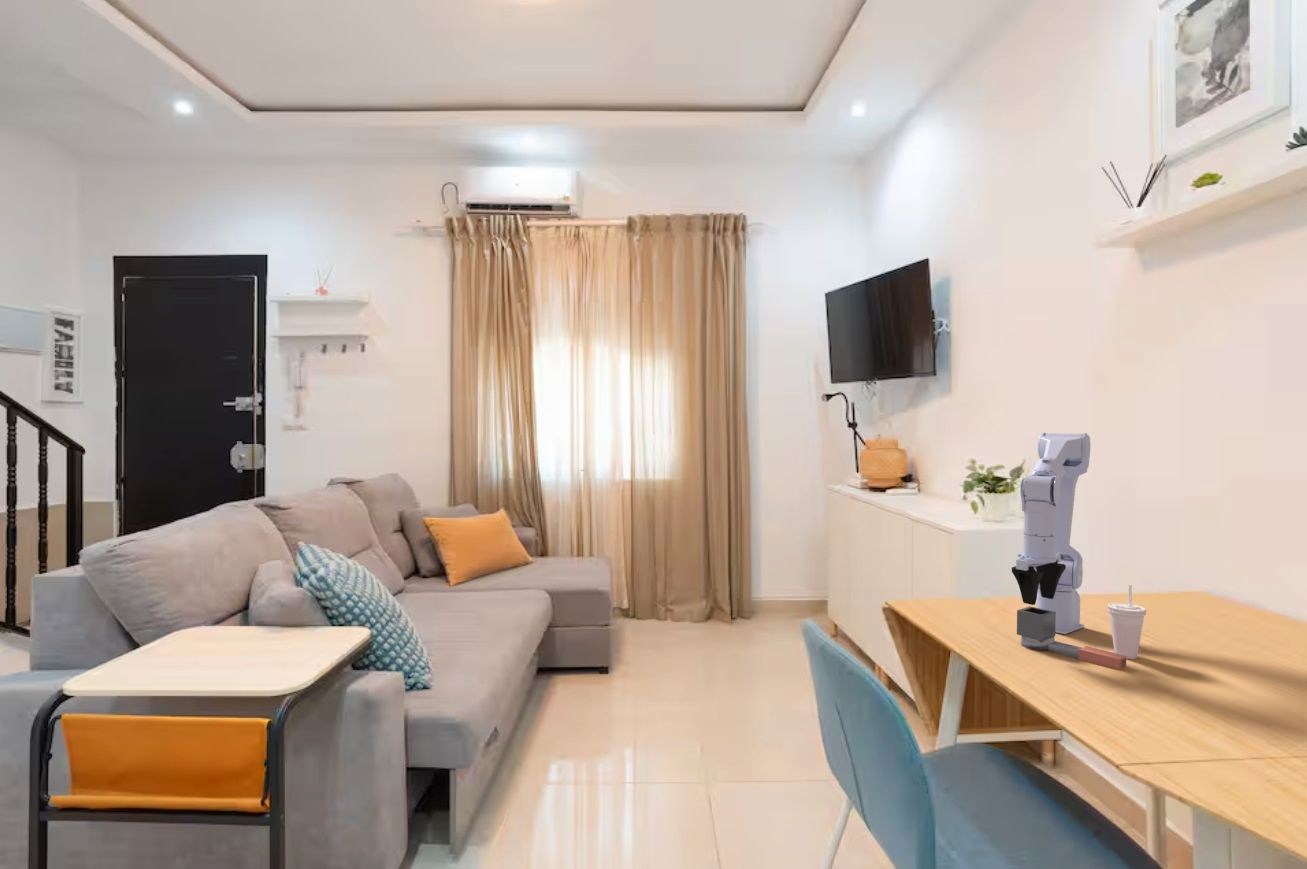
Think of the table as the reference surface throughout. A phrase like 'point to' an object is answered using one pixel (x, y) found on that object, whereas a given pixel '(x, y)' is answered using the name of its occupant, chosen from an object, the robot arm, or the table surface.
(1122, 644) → the smoothie
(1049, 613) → the hollow square tube
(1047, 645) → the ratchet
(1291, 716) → the table surface
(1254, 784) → the table surface
